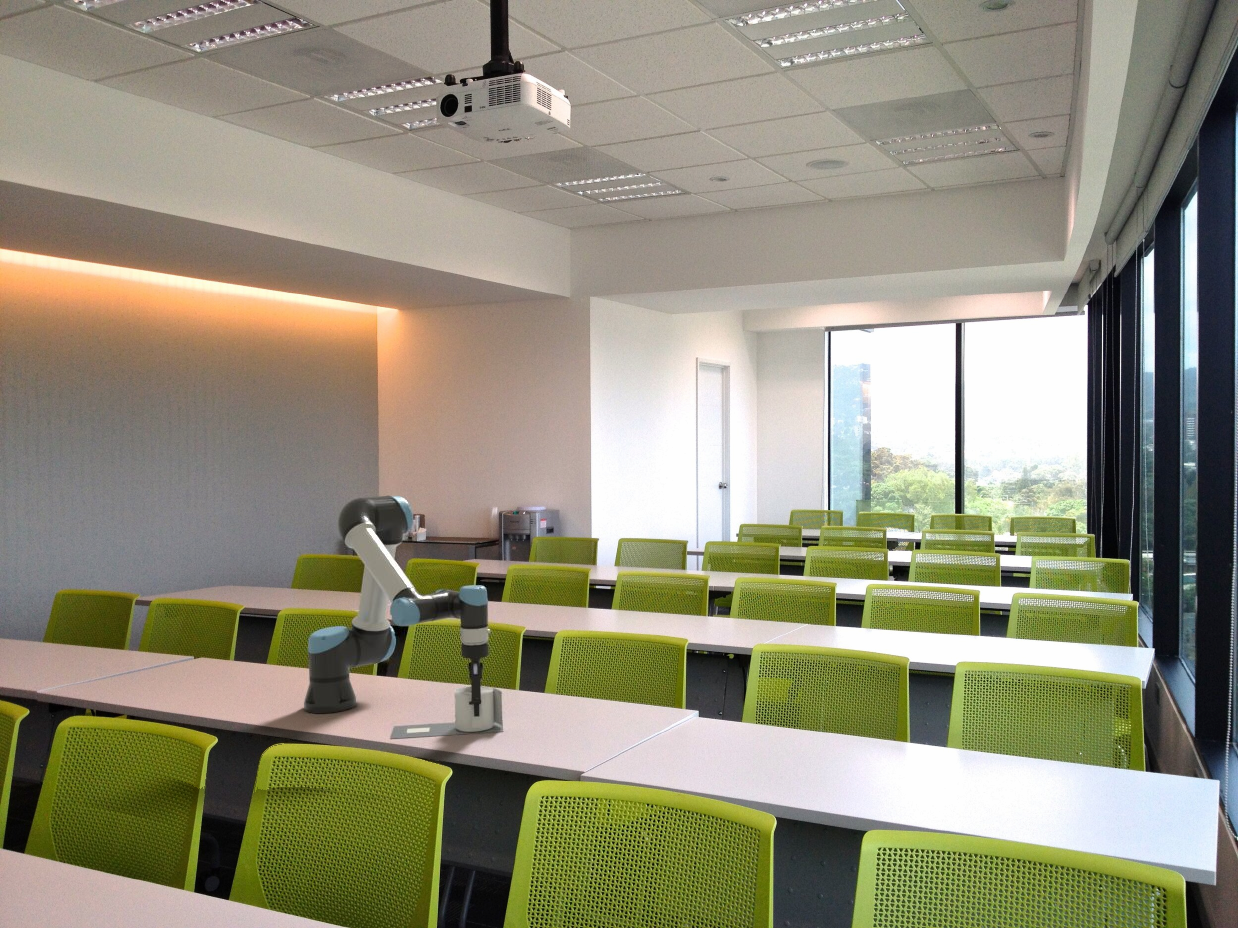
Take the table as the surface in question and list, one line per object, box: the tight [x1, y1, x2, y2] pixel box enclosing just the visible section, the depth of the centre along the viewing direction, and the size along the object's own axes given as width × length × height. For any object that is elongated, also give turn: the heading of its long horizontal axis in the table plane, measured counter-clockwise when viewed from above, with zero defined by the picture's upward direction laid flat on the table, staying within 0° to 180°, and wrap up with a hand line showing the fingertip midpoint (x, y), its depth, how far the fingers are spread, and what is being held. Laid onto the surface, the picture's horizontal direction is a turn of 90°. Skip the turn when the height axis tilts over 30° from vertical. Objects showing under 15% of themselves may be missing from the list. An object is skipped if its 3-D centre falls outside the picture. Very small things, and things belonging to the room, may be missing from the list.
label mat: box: [389, 719, 504, 740], centre depth 275 cm, size 30×12×1 cm, turn 98°
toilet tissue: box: [453, 685, 504, 732], centre depth 276 cm, size 11×12×10 cm
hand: (477, 721), depth 276 cm, fingers closed on toilet tissue, 11 cm apart
